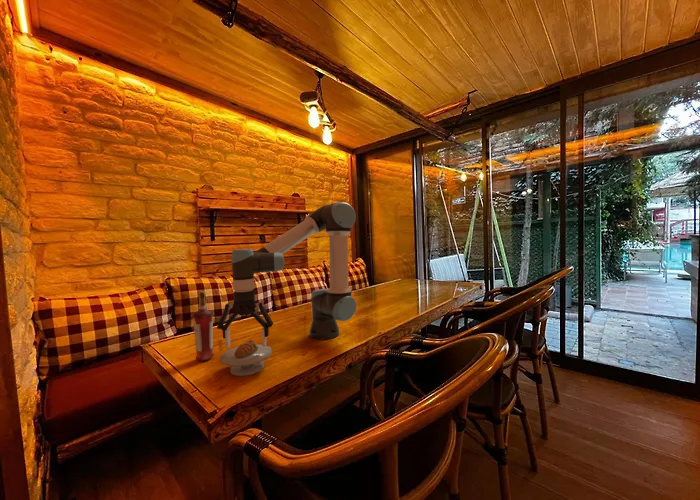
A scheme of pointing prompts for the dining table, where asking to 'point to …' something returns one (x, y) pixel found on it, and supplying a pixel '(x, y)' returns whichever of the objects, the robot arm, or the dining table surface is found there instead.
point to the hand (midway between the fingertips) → (246, 346)
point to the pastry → (246, 349)
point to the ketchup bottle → (203, 330)
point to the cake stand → (246, 361)
